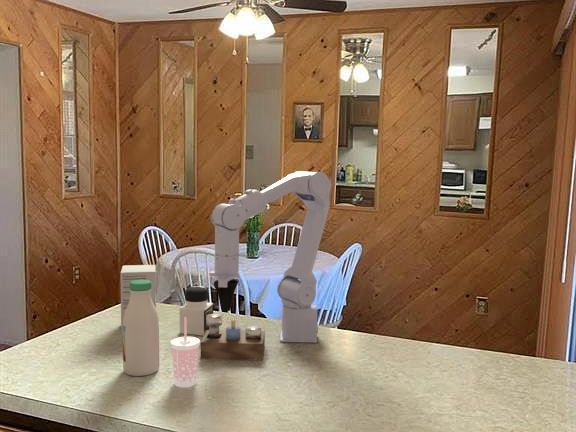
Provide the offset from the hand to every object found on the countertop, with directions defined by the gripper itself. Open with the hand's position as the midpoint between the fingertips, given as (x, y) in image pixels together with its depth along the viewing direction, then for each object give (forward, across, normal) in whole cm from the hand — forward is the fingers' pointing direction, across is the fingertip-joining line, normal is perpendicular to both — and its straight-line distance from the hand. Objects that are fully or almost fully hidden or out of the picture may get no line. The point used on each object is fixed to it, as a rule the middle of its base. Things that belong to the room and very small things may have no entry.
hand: (226, 310), depth 129 cm
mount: (+11, 0, +2) cm, 11 cm away
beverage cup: (+11, +18, -6) cm, 22 cm away
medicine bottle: (+11, -16, -10) cm, 22 cm away
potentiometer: (+7, +1, +2) cm, 7 cm away
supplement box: (+11, -18, -26) cm, 33 cm away
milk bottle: (+11, +12, -17) cm, 23 cm away
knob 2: (+10, 0, +7) cm, 12 cm away
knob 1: (+7, 0, -3) cm, 8 cm away
